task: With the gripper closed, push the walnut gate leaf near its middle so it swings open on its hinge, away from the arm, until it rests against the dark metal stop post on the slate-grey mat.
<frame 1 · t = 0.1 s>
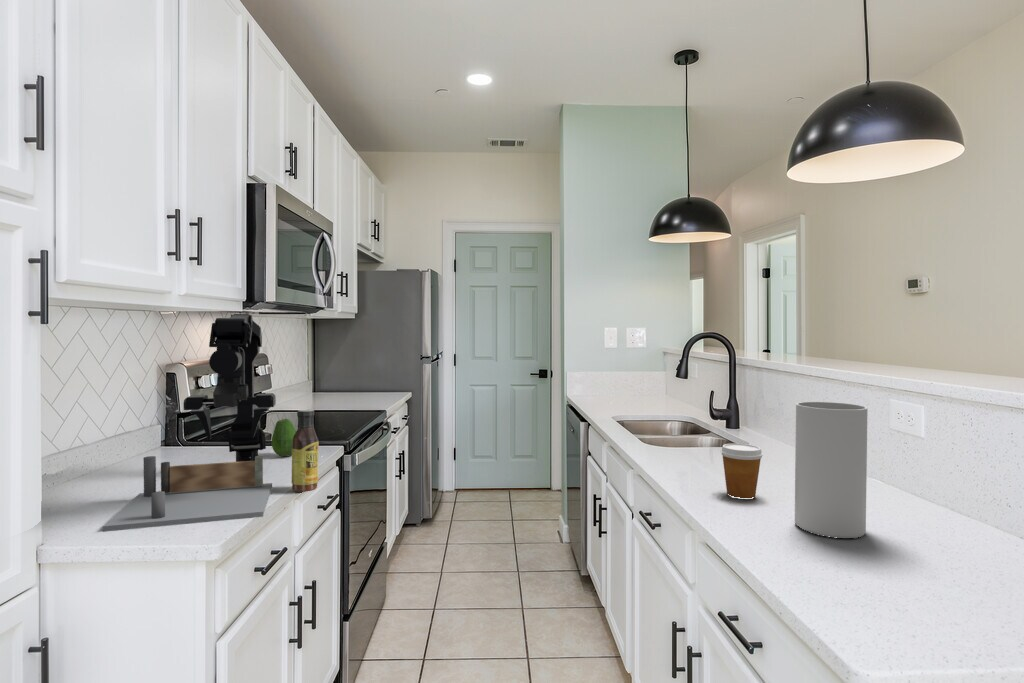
hand: (231, 438, 131), 14 cm above the worktop, fingers open, 9 cm apart
sauce bottle: (305, 490, 141), on the worktop
cylinder vase: (829, 530, 113), on the worktop
gate: (213, 474, 136), point 5 cm above the worktop, hinge at 0.0°
disposable coffee cup: (741, 497, 136), on the worktop
avocado: (285, 457, 177), on the worktop
gate frame: (165, 498, 132), on the worktop
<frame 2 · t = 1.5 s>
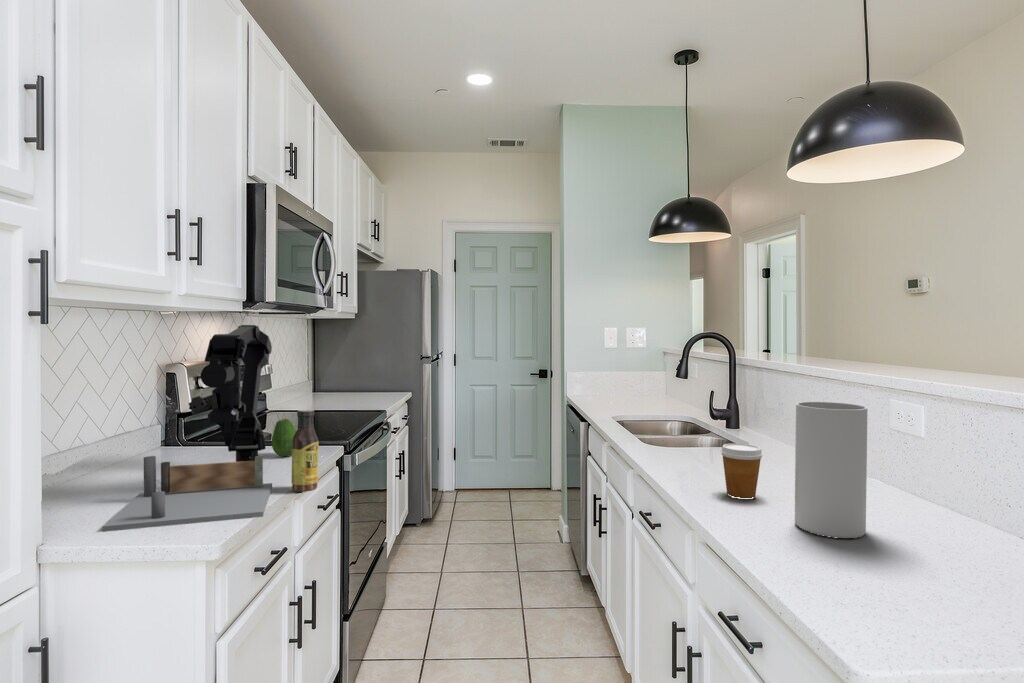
hand: (228, 445, 142), 11 cm above the worktop, fingers closed
nothing on the worktop moved.
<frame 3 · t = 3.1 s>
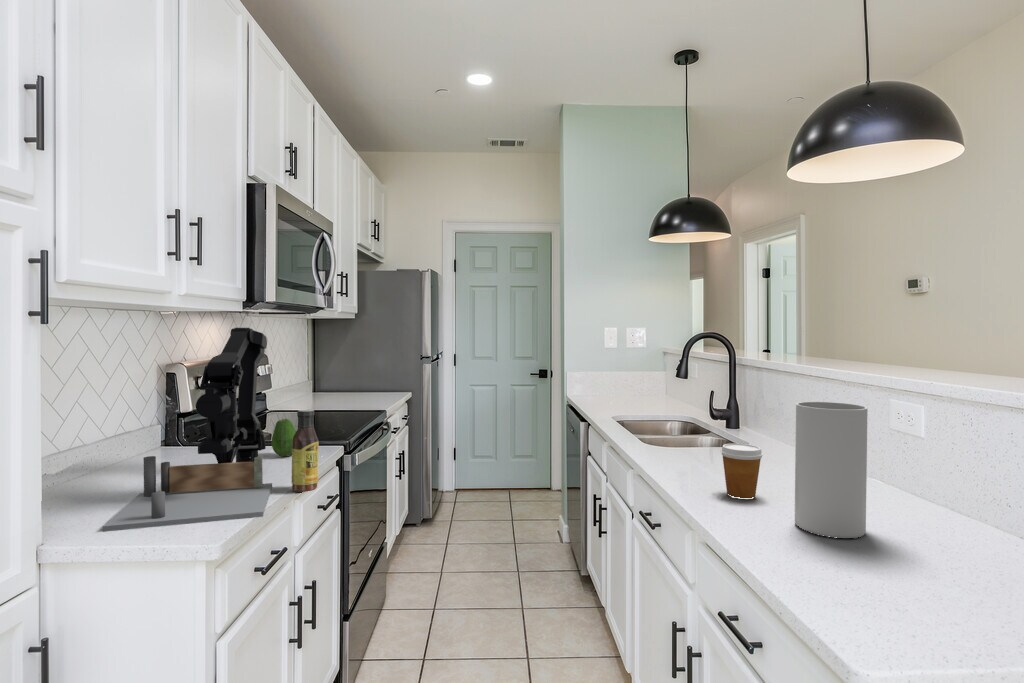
hand: (224, 474, 138), 4 cm above the worktop, fingers closed
gate: (212, 474, 135), point 5 cm above the worktop, hinge at 2.8°, touching gripper
everything else where it was.
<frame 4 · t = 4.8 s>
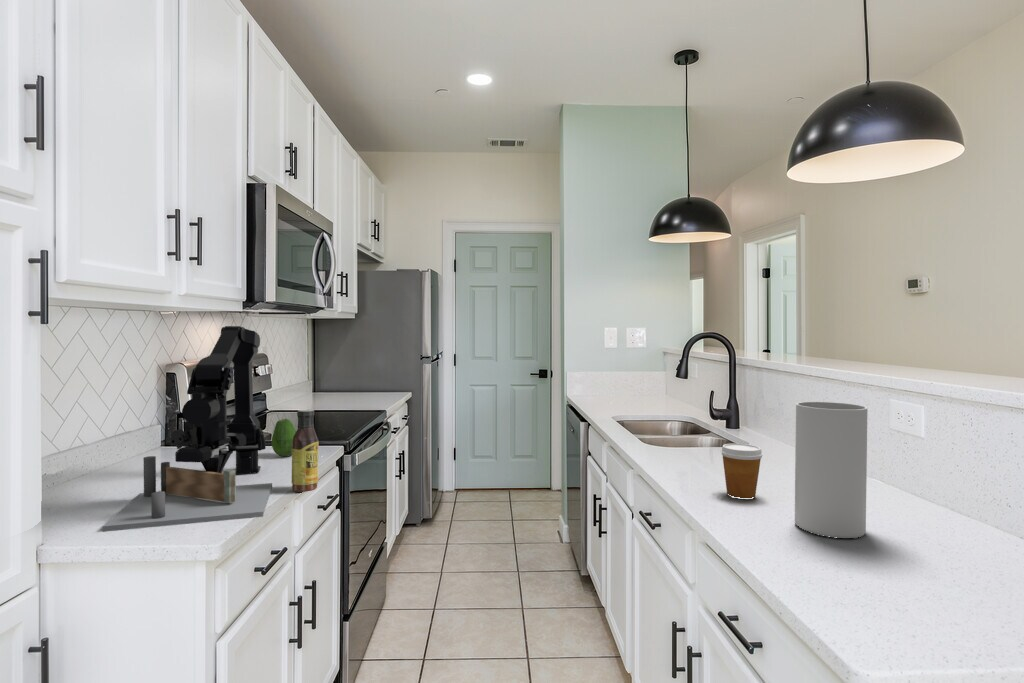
hand: (213, 483, 131), 4 cm above the worktop, fingers closed
gate: (196, 481, 129), point 5 cm above the worktop, hinge at 39.9°, touching gripper
everything else where it was.
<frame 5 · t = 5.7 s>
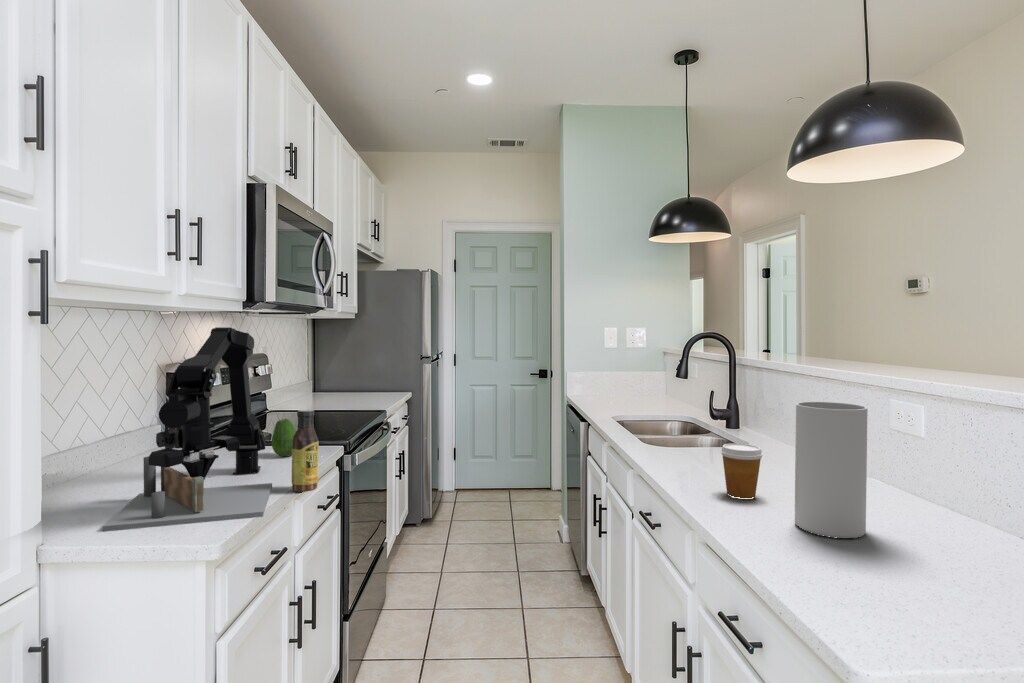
hand: (197, 488, 127), 4 cm above the worktop, fingers closed
gate: (180, 485, 126), point 5 cm above the worktop, hinge at 60.1°, touching gripper
everything else where it was.
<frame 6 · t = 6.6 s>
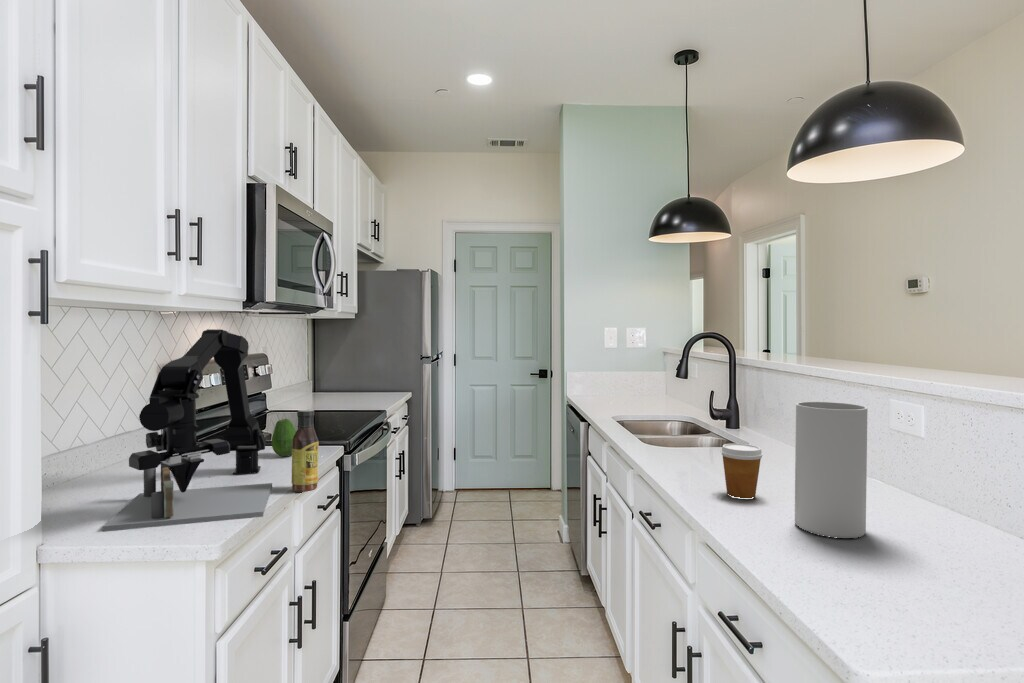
hand: (182, 492, 124), 4 cm above the worktop, fingers closed
gate: (167, 487, 124), point 5 cm above the worktop, hinge at 75.4°, touching gate frame, gripper
everything else where it was.
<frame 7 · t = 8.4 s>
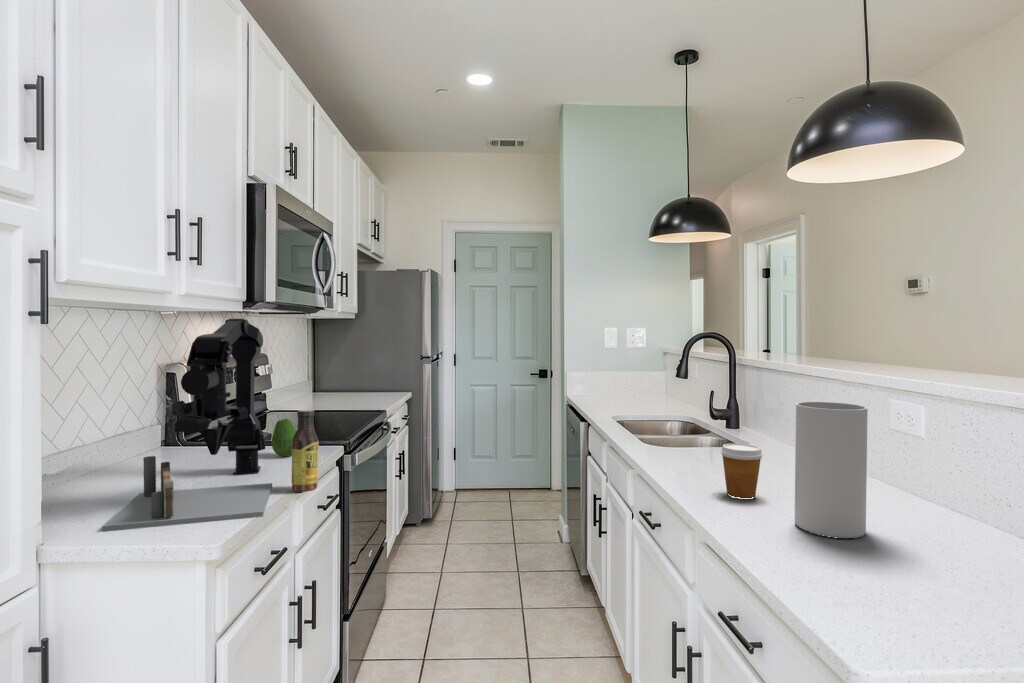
hand: (213, 454, 133), 10 cm above the worktop, fingers closed
gate: (167, 487, 124), point 5 cm above the worktop, hinge at 75.4°, touching gate frame
everything else where it was.
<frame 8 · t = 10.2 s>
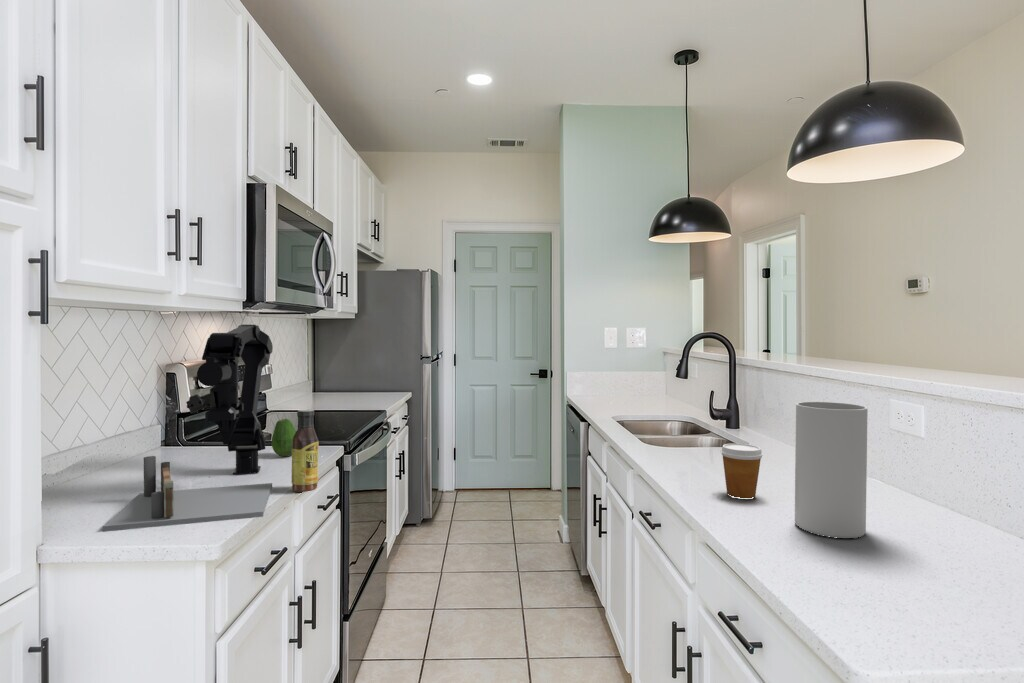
hand: (225, 444, 142), 11 cm above the worktop, fingers closed
nothing on the worktop moved.
at the end: gate at +75° (first picture: +0°) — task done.
